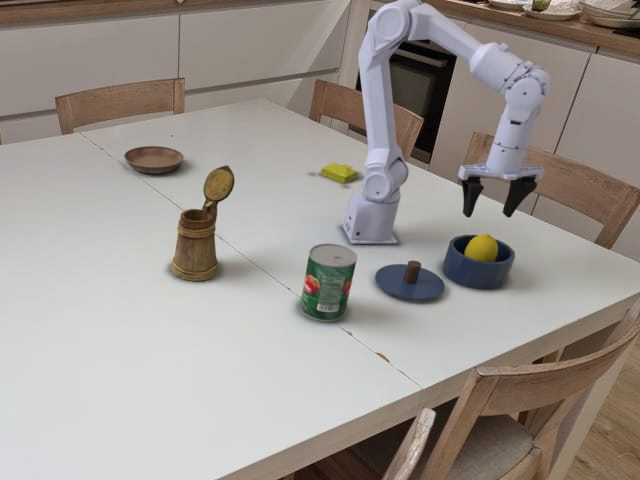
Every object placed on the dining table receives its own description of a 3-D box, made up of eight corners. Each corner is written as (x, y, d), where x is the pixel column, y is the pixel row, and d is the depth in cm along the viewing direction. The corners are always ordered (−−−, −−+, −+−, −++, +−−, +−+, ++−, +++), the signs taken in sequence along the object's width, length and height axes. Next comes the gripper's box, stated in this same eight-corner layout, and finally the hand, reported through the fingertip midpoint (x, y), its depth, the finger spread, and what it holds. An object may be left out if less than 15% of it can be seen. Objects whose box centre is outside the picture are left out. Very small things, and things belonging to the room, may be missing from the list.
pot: (455, 290, 124) (464, 263, 121) (433, 259, 133) (440, 234, 130) (515, 289, 125) (526, 263, 121) (489, 259, 134) (498, 234, 130)
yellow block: (312, 174, 167) (313, 163, 165) (334, 165, 172) (336, 154, 170) (345, 186, 161) (347, 175, 159) (367, 177, 166) (369, 165, 164)
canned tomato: (291, 302, 120) (299, 247, 113) (328, 294, 122) (338, 239, 116) (316, 326, 114) (327, 269, 107) (354, 316, 117) (367, 260, 110)
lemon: (492, 280, 126) (506, 242, 121) (461, 277, 127) (474, 239, 122) (487, 266, 130) (500, 229, 125) (457, 263, 131) (469, 226, 126)
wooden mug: (240, 259, 132) (248, 171, 121) (199, 286, 124) (204, 194, 113) (203, 245, 137) (208, 158, 126) (161, 270, 128) (163, 180, 117)
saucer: (147, 151, 178) (147, 141, 176) (194, 164, 171) (194, 153, 169) (112, 168, 168) (111, 157, 166) (160, 182, 161) (160, 171, 160)
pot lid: (385, 303, 120) (391, 281, 117) (366, 269, 130) (371, 247, 127) (453, 303, 121) (461, 280, 118) (429, 268, 130) (435, 247, 127)
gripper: (479, 151, 114) (456, 224, 122) (563, 151, 115) (534, 224, 123) (463, 137, 120) (442, 208, 128) (542, 137, 120) (517, 208, 128)
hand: (486, 215), depth 126 cm, fingers open, 7 cm apart
